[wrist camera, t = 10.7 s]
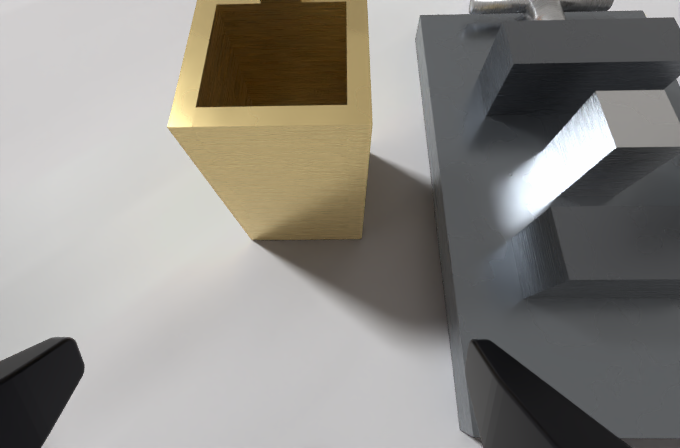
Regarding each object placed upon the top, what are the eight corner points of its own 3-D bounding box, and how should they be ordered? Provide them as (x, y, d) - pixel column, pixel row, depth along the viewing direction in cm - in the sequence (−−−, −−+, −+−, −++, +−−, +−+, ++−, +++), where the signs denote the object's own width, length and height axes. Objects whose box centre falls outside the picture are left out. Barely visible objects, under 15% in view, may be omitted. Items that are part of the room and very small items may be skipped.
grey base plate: (796, 431, 13) (1056, 467, 8) (459, 430, 13) (522, 463, 8) (622, 35, 20) (703, -64, 16) (415, 39, 21) (434, -57, 16)
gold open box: (361, 239, 16) (381, 36, 6) (251, 240, 16) (102, 42, 6) (358, 118, 18) (368, -156, 9) (264, 119, 19) (173, -150, 9)
